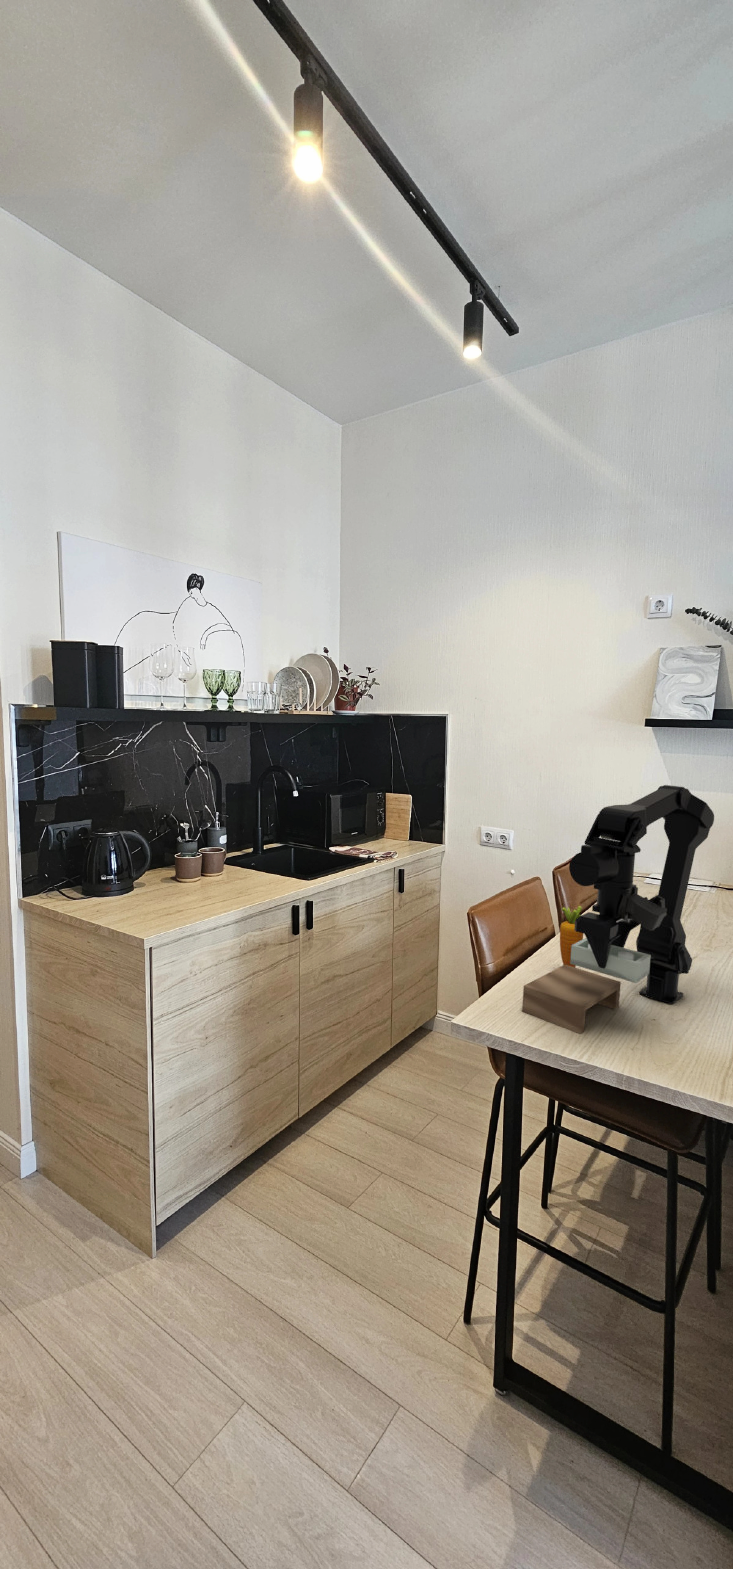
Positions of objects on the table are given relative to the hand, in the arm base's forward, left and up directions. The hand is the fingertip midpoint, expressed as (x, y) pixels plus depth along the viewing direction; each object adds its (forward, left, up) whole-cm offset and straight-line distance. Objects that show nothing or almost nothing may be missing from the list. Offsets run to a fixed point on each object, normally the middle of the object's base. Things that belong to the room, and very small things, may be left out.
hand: (609, 963), depth 119 cm
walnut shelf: (0, -7, -11) cm, 13 cm away
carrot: (-16, -15, -11) cm, 25 cm away
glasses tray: (0, 0, -1) cm, 1 cm away
